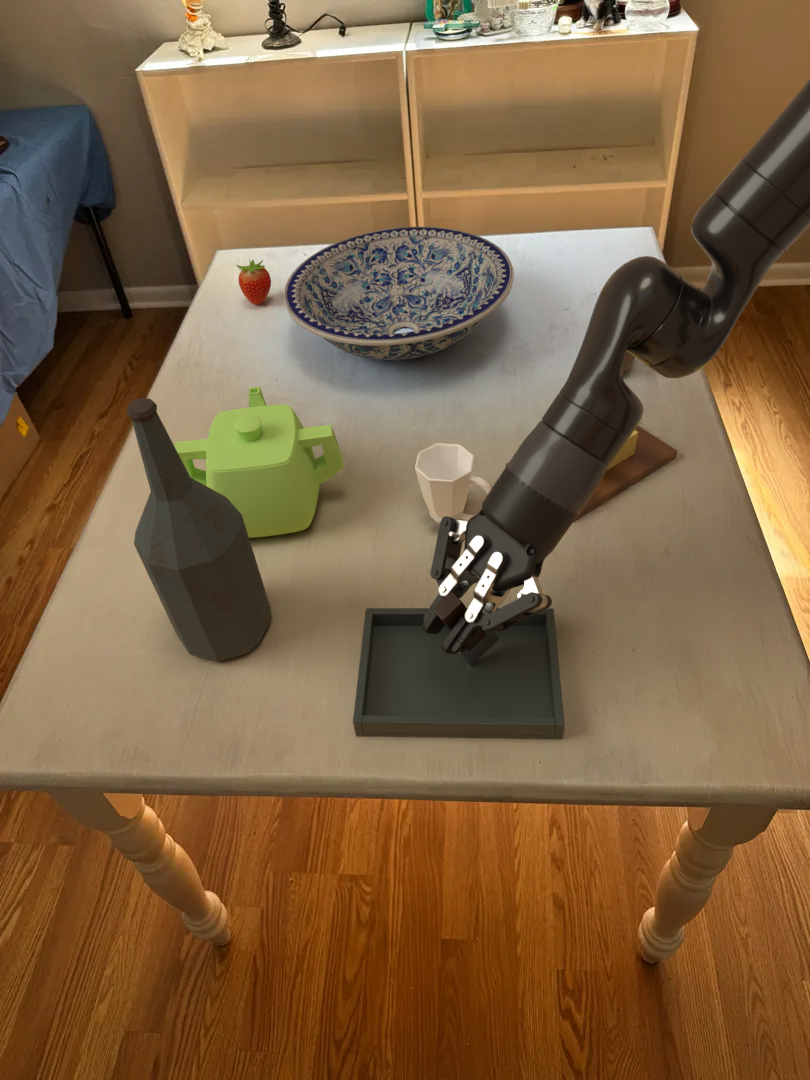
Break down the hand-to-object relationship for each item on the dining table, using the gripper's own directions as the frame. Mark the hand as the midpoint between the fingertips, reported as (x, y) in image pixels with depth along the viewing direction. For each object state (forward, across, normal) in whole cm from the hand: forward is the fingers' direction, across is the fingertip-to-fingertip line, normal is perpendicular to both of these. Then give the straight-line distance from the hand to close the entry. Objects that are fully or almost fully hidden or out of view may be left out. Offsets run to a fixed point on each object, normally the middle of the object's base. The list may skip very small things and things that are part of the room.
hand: (439, 640), depth 73 cm
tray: (+4, 0, -7) cm, 8 cm away
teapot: (+5, +36, -6) cm, 37 cm away
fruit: (-10, +79, -22) cm, 83 cm away
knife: (+1, 0, -9) cm, 9 cm away
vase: (-31, +28, -42) cm, 59 cm away
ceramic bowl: (-19, +55, -30) cm, 66 cm away
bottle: (+16, +21, +4) cm, 26 cm away
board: (-19, +14, -30) cm, 39 cm away
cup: (-6, +18, -17) cm, 26 cm away
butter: (-20, +13, -30) cm, 38 cm away
